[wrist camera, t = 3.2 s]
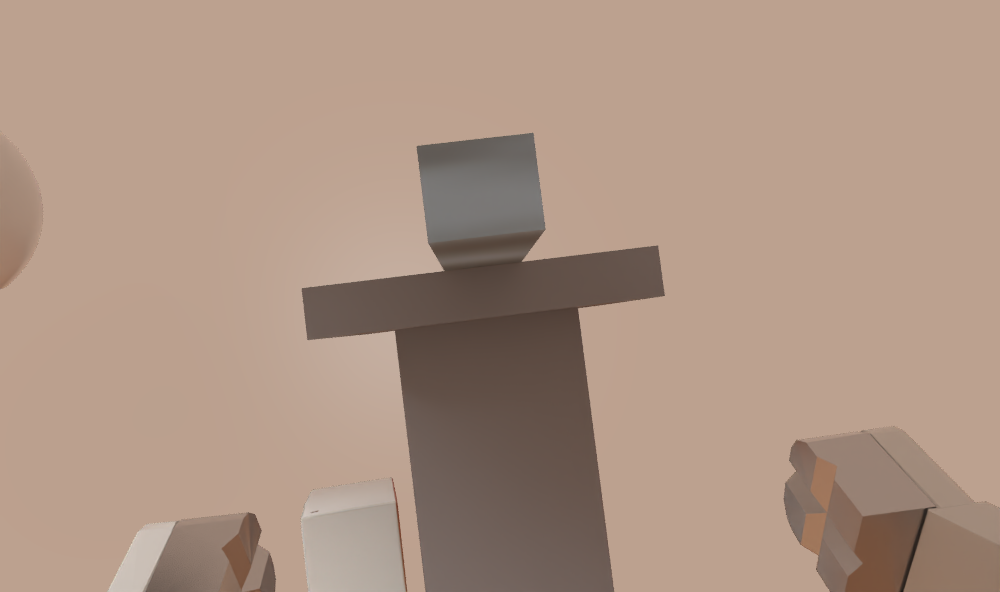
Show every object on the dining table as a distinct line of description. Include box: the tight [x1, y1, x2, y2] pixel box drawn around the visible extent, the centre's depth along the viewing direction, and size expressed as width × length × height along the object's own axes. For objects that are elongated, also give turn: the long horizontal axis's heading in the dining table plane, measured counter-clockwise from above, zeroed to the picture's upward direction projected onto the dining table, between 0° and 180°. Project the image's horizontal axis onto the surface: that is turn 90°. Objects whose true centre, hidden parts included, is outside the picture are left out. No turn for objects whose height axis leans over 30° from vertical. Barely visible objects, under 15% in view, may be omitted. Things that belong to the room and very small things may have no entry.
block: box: [417, 133, 545, 271], centre depth 28 cm, size 22×3×2 cm, turn 2°
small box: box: [301, 478, 407, 592], centre depth 46 cm, size 8×6×13 cm
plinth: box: [302, 246, 665, 592], centre depth 32 cm, size 14×14×26 cm
